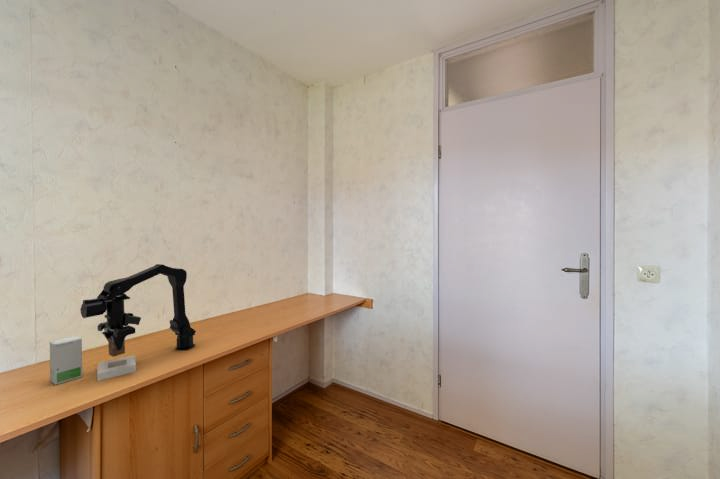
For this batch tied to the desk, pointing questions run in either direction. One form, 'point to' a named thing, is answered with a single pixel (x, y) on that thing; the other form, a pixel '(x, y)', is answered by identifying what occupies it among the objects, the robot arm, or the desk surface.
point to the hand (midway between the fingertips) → (116, 349)
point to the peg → (113, 349)
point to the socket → (116, 368)
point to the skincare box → (65, 359)
